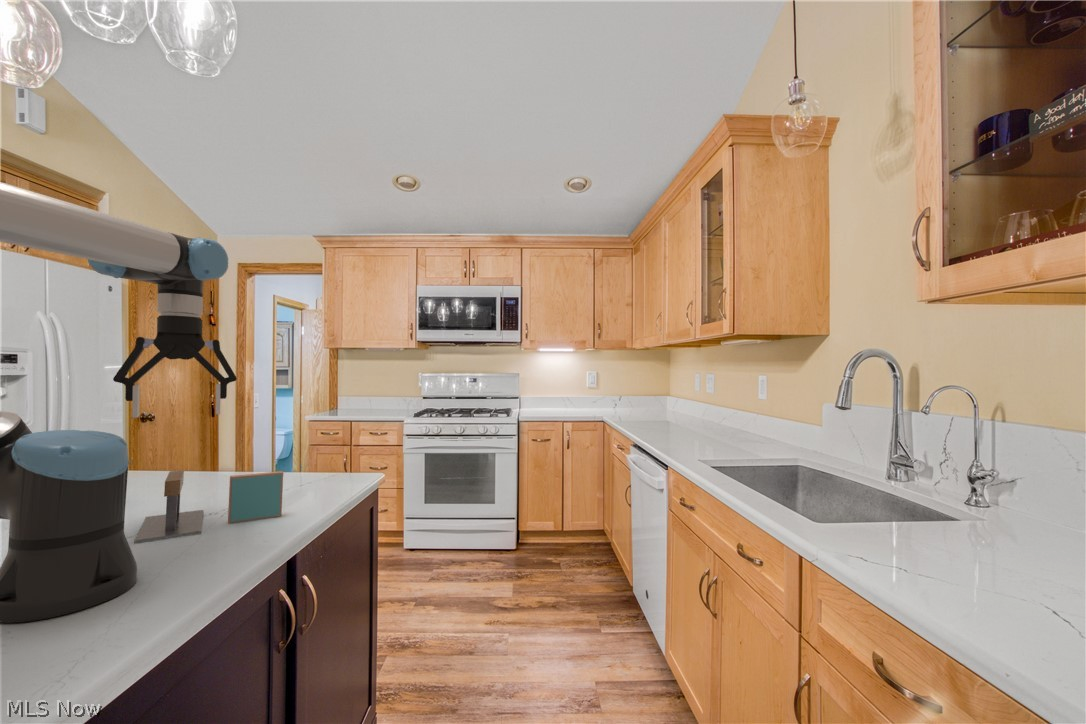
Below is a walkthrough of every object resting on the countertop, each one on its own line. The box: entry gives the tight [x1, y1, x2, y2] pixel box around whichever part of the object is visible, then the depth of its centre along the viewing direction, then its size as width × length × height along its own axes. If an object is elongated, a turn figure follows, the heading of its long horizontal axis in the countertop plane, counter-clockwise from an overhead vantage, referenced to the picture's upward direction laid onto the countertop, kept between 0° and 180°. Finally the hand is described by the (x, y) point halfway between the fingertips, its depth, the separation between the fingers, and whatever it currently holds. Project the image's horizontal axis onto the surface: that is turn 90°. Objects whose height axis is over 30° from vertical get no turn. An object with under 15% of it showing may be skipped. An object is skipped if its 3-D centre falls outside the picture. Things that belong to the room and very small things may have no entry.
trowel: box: [134, 470, 204, 545], centre depth 94 cm, size 16×10×11 cm, turn 36°
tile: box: [227, 470, 284, 525], centre depth 100 cm, size 2×10×10 cm, turn 126°
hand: (178, 415), depth 96 cm, fingers open, 13 cm apart
